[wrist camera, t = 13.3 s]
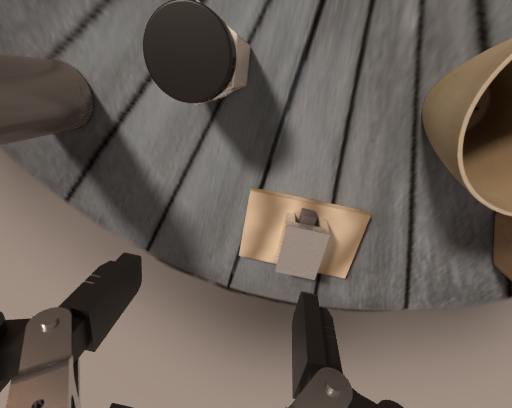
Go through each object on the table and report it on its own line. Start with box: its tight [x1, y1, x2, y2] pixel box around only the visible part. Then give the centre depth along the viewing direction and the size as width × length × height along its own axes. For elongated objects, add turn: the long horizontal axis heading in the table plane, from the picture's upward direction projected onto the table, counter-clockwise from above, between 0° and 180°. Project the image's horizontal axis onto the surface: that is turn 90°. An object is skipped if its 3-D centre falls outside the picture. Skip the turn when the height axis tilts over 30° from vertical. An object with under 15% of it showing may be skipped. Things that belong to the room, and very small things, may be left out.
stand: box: [239, 187, 371, 278], centre depth 42 cm, size 18×12×4 cm, turn 80°
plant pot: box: [422, 38, 512, 216], centre depth 26 cm, size 15×15×16 cm
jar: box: [143, 0, 250, 105], centre depth 29 cm, size 9×8×12 cm
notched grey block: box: [275, 211, 330, 280], centre depth 40 cm, size 6×8×4 cm
